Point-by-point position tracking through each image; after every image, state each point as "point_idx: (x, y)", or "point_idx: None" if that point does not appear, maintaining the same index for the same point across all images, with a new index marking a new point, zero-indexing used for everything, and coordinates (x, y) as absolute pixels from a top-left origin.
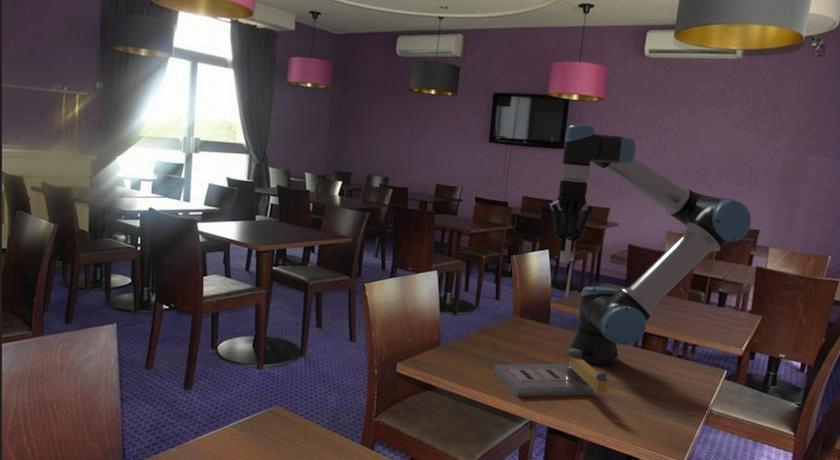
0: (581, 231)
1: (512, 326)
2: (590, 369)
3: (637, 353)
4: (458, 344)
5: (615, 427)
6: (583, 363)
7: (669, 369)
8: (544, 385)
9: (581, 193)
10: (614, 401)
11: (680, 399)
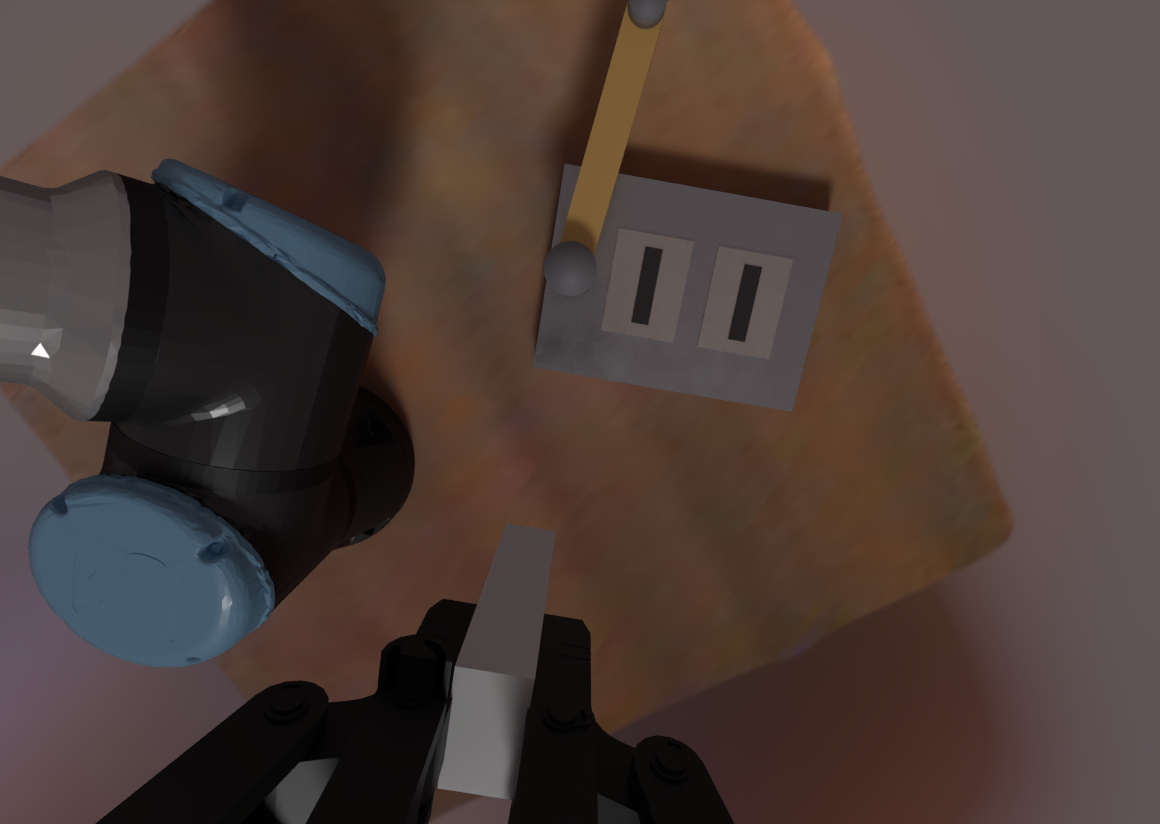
0: (182, 785)
1: None
2: (613, 114)
3: None
4: (738, 657)
5: None
6: (595, 182)
7: None
8: (740, 208)
9: None
10: (523, 109)
11: (268, 61)
